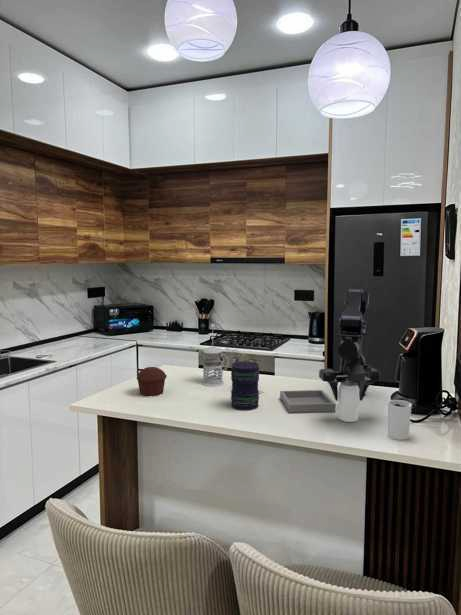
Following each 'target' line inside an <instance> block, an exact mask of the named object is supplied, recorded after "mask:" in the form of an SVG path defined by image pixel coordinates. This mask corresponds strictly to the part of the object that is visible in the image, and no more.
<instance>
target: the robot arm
mask: <svg viewBox="0 0 461 615" xmlns="http://www.w3.org/2000/svg"><path fill="white" fill-rule="evenodd" d="M369 300H370V295H369V292H367V291H364V289H362V288H349V289H348V291H345V292H344V299H343V301H344V305H346V309H345V310H343V311H342V312H341V317H338V324H337V325H338V326H337V335H336V337H338V338H341V342H340V343H339V346H338V348H337V352H338V354H339V355H338V356H339V358H340V366H339V371H335V370H333V369H332V368H321V369H320V370H319V372H318V377H319V378H320V380H321V381H322V382H325V383H326V382H327V384H329V386H330V390H331V392H332V395H333V397H334V401H335V402H338V400H339V389H338V385H339V382H338V381H337V379H339V378H343V379H345V381H351V382H356V383H358V387H359V401H363V399H364V396H366V392H367V391H368V388H369V387H370V385H371V384H375V382H376V381H381V376H382V374H381V372H380V371H379V370H377V369H376V368H374V367H372V366H371V365H370V364H366V358H365V356H364V355H363V353H362V339H363V338H364V336H365V335H366V326H367V325H366V323H367V322H366V321H365V318H363V316H364V314H365V313H366V312H367V309H368V306H369V305H370V304H369V302H370V301H369Z"/></svg>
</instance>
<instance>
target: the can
mask: <svg viewBox="0 0 461 615" xmlns="http://www.w3.org/2000/svg"><path fill="white" fill-rule="evenodd" d="M337 402H338V406H337V418H338V419H339V420H340V421H341V422H344V423H355V422H358V420H359V415H360V414H359V412H360V411H359V410H360V409H359V408H360V396H359V387H358V383H356V382H351V381H346V380H344V381H341V382H340V383H339V386H338V401H337Z"/></svg>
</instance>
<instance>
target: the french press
mask: <svg viewBox="0 0 461 615" xmlns="http://www.w3.org/2000/svg"><path fill="white" fill-rule="evenodd" d="M210 328H212V329H211V330H212V332H211V333H212V345H211V347H207V348H204V349H203V351H202V352H203V354H206V355H211V356H212V358H206V359H203V362H204V363H203V371H202V372H203V381H201V383H200V385H202V386H204V387H209V386H210V387H212V388H213V387H215V386H216V387H221V386H223V384H224V385H225V381H223V372H225V371H227V370H228V368H229V364H230V362H229V361H230V360H229V358H228V356H227V355H226V354H225V353H223V350H222V348H220V347H216V346H214V328H215V324H214V323H211V324H210ZM218 354H220V357H221V358H223V356H224V357H225V358H226V362H227V363H226V366H225V367H224V368H223V364H222V359H220V358H214V355H218ZM216 387H215V388H216Z"/></svg>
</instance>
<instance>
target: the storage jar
mask: <svg viewBox="0 0 461 615" xmlns="http://www.w3.org/2000/svg"><path fill="white" fill-rule="evenodd" d="M230 366H231V372H230V374H231V376H230V380H231V391H230V399H231V408H232V409H234V410H237V411H253V410H257V409H258V408H259V400H260V396H259V395H260V393H259V391H260V390H259V380H260V369H259V367H260V365H259V363H258V362H256V363H254V362H243V361H236V362H233V363H231V365H230ZM258 390H259V391H258Z"/></svg>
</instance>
